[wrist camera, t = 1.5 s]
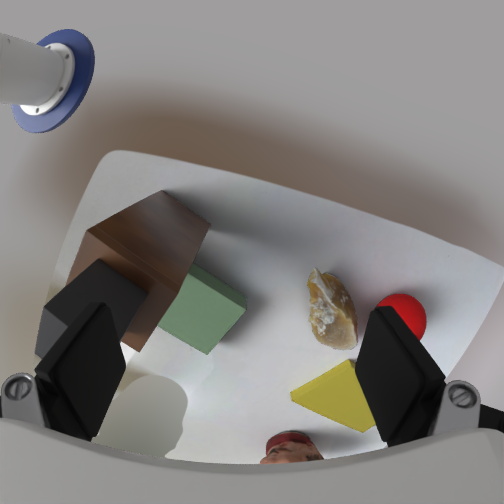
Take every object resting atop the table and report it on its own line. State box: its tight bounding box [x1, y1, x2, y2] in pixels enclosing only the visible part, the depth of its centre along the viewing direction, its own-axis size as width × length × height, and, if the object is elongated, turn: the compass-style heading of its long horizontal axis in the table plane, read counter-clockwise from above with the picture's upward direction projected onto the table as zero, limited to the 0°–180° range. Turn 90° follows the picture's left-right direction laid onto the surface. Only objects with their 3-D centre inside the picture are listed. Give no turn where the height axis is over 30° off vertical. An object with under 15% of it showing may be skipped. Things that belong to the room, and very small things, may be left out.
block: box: [35, 258, 149, 359], centre depth 16 cm, size 4×4×7 cm
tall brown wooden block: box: [65, 190, 211, 352], centre depth 28 cm, size 8×7×19 cm
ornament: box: [376, 294, 426, 341], centre depth 37 cm, size 9×9×10 cm
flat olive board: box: [290, 359, 375, 433], centre depth 48 cm, size 12×2×24 cm
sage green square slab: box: [157, 263, 247, 355], centre depth 39 cm, size 10×10×4 cm
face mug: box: [260, 432, 324, 464], centre depth 48 cm, size 20×12×14 cm, turn 58°
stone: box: [307, 267, 358, 350], centre depth 38 cm, size 7×6×15 cm
